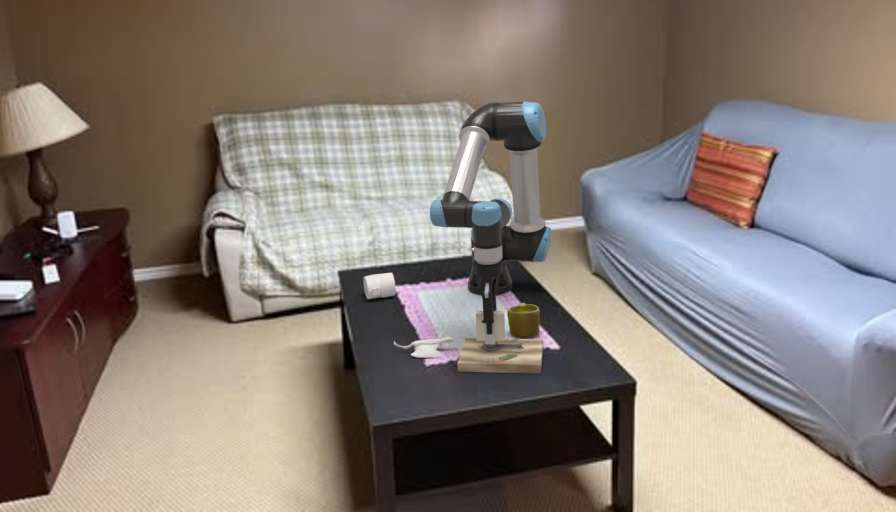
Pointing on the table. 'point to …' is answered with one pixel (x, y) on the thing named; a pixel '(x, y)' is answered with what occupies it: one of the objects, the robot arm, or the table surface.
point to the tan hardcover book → (502, 357)
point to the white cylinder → (379, 285)
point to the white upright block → (499, 331)
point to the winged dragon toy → (427, 347)
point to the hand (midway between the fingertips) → (491, 340)
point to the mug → (524, 320)
